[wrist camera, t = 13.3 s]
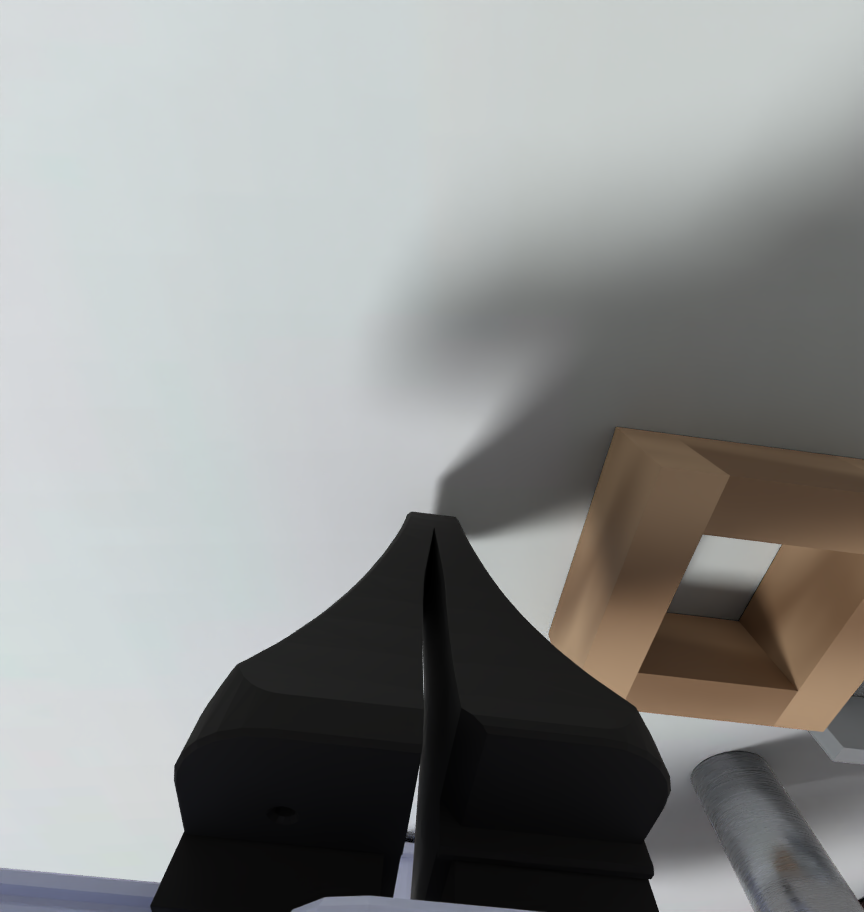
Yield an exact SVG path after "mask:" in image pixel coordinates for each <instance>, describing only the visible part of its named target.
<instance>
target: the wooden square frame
mask: <svg viewBox="0 0 864 912" xmlns="http://www.w3.org/2000/svg"><path fill="white" fill-rule="evenodd" d="M703 534H704V535H712V536H720V537H728V538H736V539H744V540H752V541H760V542H768V543H776V544H782V546H781V548H780V549H779V551H778V553H777V555H776V556H775V558H774V560H773V562H772V564H771V565H770V567H769V569H768V571H767V572H766V574H765V576H764V578H763V579H762V581H761V583H760V585H759V586H758V588H757V590H756V592H755V594H754V595H753V597H752V599H751V601H750V602H749V604H748V606H747V608H746V609H745V611H744V613H743V615H742V616H741V618H740V620H739V621H733V620H725V619H716V618H708V617H699V616H691V615H683V614H674V613H666V612H667V609H668V607H669V605H670V603H671V601H672V599H673V597H674V594H675V592H676V590H677V588H678V586H679V584H680V582H681V579H682V577H683V575H684V573H685V571H686V569H687V567H688V565H689V562H690V560H691V558H692V556H693V554H694V552H695V550H696V547H697V545H698V543H699V541H700V539H701V537H702V535H703ZM549 638H550V641H551V644H553V645H554V646H555V647H556V648H557V649H558V650H559V651H561V652H562V653H563V654H564V655H565V656H567V657H568V658H569V659H570V660H572V661H573V662H574V663H575V664H577V665H578V666H579V667H580V668H582V669H583V670H584V671H585V672H587V673H588V674H589V675H591V676H592V677H593V678H595V679H596V680H598V681H599V682H601V683H602V684H604V685H605V686H606V687H608V688H609V689H611V690H612V691H614V692H615V693H617V694H618V695H619V696H621V697H622V698H624V699H625V700H627V701H628V702H629V703H631V704H632V705H634V706H635V707H636V708H637V710H638V712H647V713H656V714H665V715H674V716H684V717H693V718H702V719H711V720H720V721H729V722H738V723H747V724H756V725H765V726H774V727H783V728H792V729H801V730H811V731H820V732H824V730H825V729H826V728H827V727H828V725H829V724H830V723H831V721H832V720H833V719H834V718H835V716H836V715H837V714H838V713H839V711H840V710H841V709H842V707H843V706H844V705H845V704H846V702H847V701H848V700H849V699H850V697H851V696H852V695H853V694H854V692H855V691H856V690H857V688H858V687H859V686H860V685H861V683H862V682H863V681H864V460H863V459H856V458H848V457H841V456H833V455H825V454H818V453H810V452H803V451H795V450H788V449H780V448H772V447H765V446H757V445H750V444H742V443H735V442H727V441H719V440H712V439H704V438H697V437H689V436H682V435H674V434H666V433H659V432H651V431H644V430H636V429H629V428H621V427H616V429H615V432H614V435H613V438H612V441H611V444H610V447H609V450H608V453H607V457H606V460H605V463H604V466H603V469H602V472H601V475H600V478H599V481H598V484H597V487H596V490H595V493H594V496H593V499H592V502H591V505H590V508H589V512H588V515H587V518H586V521H585V524H584V527H583V530H582V533H581V536H580V539H579V542H578V545H577V548H576V551H575V554H574V557H573V560H572V563H571V567H570V570H569V573H568V576H567V579H566V582H565V585H564V588H563V591H562V594H561V597H560V600H559V603H558V606H557V609H556V612H555V615H554V618H553V621H552V625H551V628H550V631H549Z"/></svg>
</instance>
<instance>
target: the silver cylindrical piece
mask: <svg viewBox="0 0 864 912" xmlns="http://www.w3.org/2000/svg"><path fill="white" fill-rule="evenodd" d="M691 783H692V786H693V788H694V790H695V792H696V794H697V796H698V798H699V800H700V802H701V804H702V806H703V808H704V810H705V812H706V814H707V816H708V818H709V820H710V823H711V825H712V827H713V829H714V831H715V833H716V835H717V837H718V839H719V841H720V843H721V845H722V847H723V849H724V851H725V853H726V855H727V857H728V859H729V861H730V863H731V865H732V867H733V870H734V872H735V874H736V876H737V878H738V880H739V882H740V884H741V886H742V888H743V890H744V892H745V894H746V896H747V898H748V900H749V902H750V904H751V906H752V908H753V910H754V912H864V908H863V907H862V905H861V904H860V902H859V901H858V899H857V898H856V896H855V895H854V893H853V892H852V890H851V889H850V887H849V886H848V884H847V883H846V881H845V880H844V878H843V877H842V875H841V874H840V872H839V871H838V869H837V868H836V866H835V865H834V863H833V862H832V860H831V859H830V857H829V856H828V854H827V853H826V851H825V850H824V848H823V847H822V845H821V844H820V842H819V841H818V839H817V838H816V836H815V835H814V833H813V832H812V830H811V829H810V827H809V826H808V824H807V823H806V821H805V820H804V818H803V817H802V815H801V814H800V812H799V811H798V809H797V808H796V806H795V805H794V803H793V802H792V800H791V799H790V797H789V795H788V794H787V792H786V791H785V789H784V788H783V786H782V785H781V783H780V782H779V780H778V779H777V777H776V776H775V774H774V773H773V771H772V770H771V768H770V767H769V765H768V764H767V762H766V761H765V760H764V759H763V758H762V757H760V756H758V755H756V754H753V753H749V752H728V753H723V754H719V755H716V756H713V757H711V758H709V759H707V760H705V761H703V762H702V763H701V764H699V765H698V766H697V767H696V768H695V770H694V771H693V773H692V775H691Z"/></svg>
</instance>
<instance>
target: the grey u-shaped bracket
mask: <svg viewBox="0 0 864 912" xmlns="http://www.w3.org/2000/svg"><path fill="white" fill-rule="evenodd" d="M808 732H809V733H810V734H811V735H812V737H813V738H814V739H815V740H816V742H817V743H818V744H819V745H820V747H821V748H822V749H823V750H824V752H825V753H826V754H827V755H828V757H829V758H830V759H831V760H832V761H834V762H843V763H852V764H862V765H864V697H858V696H851V697H850V699H849V700H848V701H847V702H846V704H845V705H844V706H843V707H842V709H841V710H840V711H839V713H838V714H837V715H836V716H835V718H834V719H833V720H832V721H831V723H830V724H829V725H828V727H827V728H826V729H825V730H824V732H820V731H811V730H808Z"/></svg>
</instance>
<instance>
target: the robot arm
mask: <svg viewBox="0 0 864 912" xmlns="http://www.w3.org/2000/svg"><path fill="white" fill-rule="evenodd" d="M423 668H424V694H423ZM419 766H420V771H419ZM418 771H419V786H418V801H417V815H416V829H415V843H411V842H405V839H406V834H407V829H408V823H409V818H410V813H411V808H412V802H413V797H414V792H415V787H416V781H417V776H418ZM174 782H175V787H176V792H177V797H178V802H179V807H180V812H181V817H182V822H183V827H184V833H183V835H182V838H181V840H180V842H179V844H178V846H177V848H176V851H175V853H174V855H173V857H172V859H171V861H170V864H169V866H168V868H167V870H166V872H165V874H164V877H163V879H162V881H161V883H157V882H147V881H136V880H125V879H115V878H104V877H93V876H83V875H72V874H61V873H50V872H40V871H29V870H18V869H8V868H0V912H659V910H658V907H657V904H656V901H655V898H654V895H653V892H652V889H651V886H650V883H649V880H648V879H652V877H653V876H654V868H653V864H652V861H651V859H650V856H649V853H648V850H647V847H646V844H645V842H644V839H645V838H646V836H647V835H648V833H649V831H650V830H651V828H652V826H653V825H654V823H655V822H656V820H657V818H658V817H659V815H660V814H661V812H662V810H663V809H664V806H665V804H666V802H667V799H668V796H669V794H670V791H671V786H670V776H669V773H668V771H667V769H666V767H665V765H664V762H663V760H662V758H661V756H660V753H659V751H658V749H657V747H656V744H655V742H654V740H653V738H652V736H651V734H650V732H649V730H648V728H647V727H646V725H645V723H644V721H643V719H642V718H641V716H640V714H639V712H638V710H637V708H636V707H635V706H634V705H632V704H631V703H629V702H628V701H627V700H625V699H624V698H622V697H621V696H619V695H618V694H617V693H615V692H614V691H612V690H611V689H609V688H608V687H606V686H605V685H604V684H602V683H601V682H599V681H598V680H596V679H595V678H593V677H592V676H591V675H589V674H588V673H587V672H585V671H584V670H583V669H582V668H580V667H579V666H578V665H577V664H575V663H574V662H573V661H572V660H570V659H569V658H568V657H567V656H565V655H564V654H563V653H562V652H561V651H559V650H558V649H557V648H556V647H555V646H554V645H553V644H551V643H550V642H549V641H548V640H547V639H546V638H545V637H544V636H543V635H542V634H541V633H540V632H539V631H537V630H536V629H535V628H534V627H533V626H532V625H531V624H530V623H529V622H528V621H527V620H526V619H525V618H524V617H523V616H522V615H521V614H520V612H519V611H518V610H517V609H516V608H515V607H514V606H513V605H512V603H511V602H510V601H509V600H508V599H507V598H506V596H505V595H504V594H503V593H502V591H501V590H500V589H499V587H498V586H497V585H496V583H495V582H494V580H493V579H492V578H491V576H490V575H489V573H488V572H487V570H486V569H485V568H484V566H483V564H482V563H481V561H480V560H479V558H478V556H477V555H476V553H475V552H474V550H473V548H472V546H471V545H470V543H469V541H468V539H467V537H466V535H465V533H464V531H463V529H462V527H461V525H460V523H459V521H458V520H457V518H456V517H451V516H443V515H435V514H427V513H419V512H410V513H409V514H407V516H406V519H405V521H404V524H403V525H402V527H401V529H400V531H399V532H398V534H397V536H396V537H395V539H394V540H393V541H392V543H391V544H390V546H389V547H388V548H387V550H386V551H385V552H384V554H383V555H382V556H381V557H380V558H379V560H378V561H377V562H376V563H375V564H374V566H373V567H372V568H371V569H370V570H369V571H368V572H367V573H366V575H365V576H364V577H363V578H362V579H361V580H360V581H359V582H358V583H357V584H356V585H355V586H354V587H352V588H351V589H350V590H349V591H348V592H347V593H346V594H345V595H344V596H342V597H341V598H340V599H339V600H338V601H337V602H335V603H334V604H333V605H332V606H331V607H329V608H328V609H327V610H326V611H324V612H323V613H322V614H320V615H319V616H318V617H316V618H315V619H313V620H312V621H310V622H309V623H307V624H306V625H304V626H303V627H302V628H300V629H299V630H297V631H296V632H294V633H293V634H291V635H290V636H288V637H287V638H285V639H283V640H282V641H280V642H278V643H277V644H275V645H273V646H271V647H269V648H267V649H266V650H264V651H262V652H260V653H258V654H256V655H254V656H253V657H251V658H249V659H247V660H245V661H243V662H241V663H239V664H237V665H236V666H235V668H234V669H233V670H232V671H231V673H230V674H229V675H228V677H227V678H226V679H225V681H224V682H223V683H222V685H221V686H220V688H219V689H218V691H217V692H216V693H215V695H214V696H213V698H212V699H211V700H210V702H209V703H208V705H207V706H206V708H205V710H204V711H203V713H202V714H201V716H200V718H199V720H198V722H197V724H196V726H195V728H194V730H193V731H192V733H191V735H190V737H189V739H188V741H187V743H186V745H185V747H184V749H183V751H182V752H181V754H180V756H179V758H178V760H177V762H176V764H175V767H174Z"/></svg>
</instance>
